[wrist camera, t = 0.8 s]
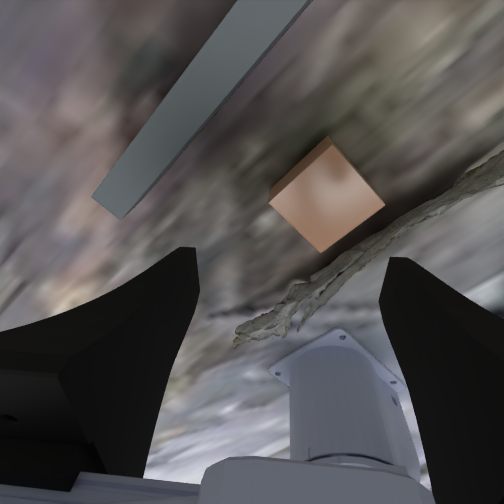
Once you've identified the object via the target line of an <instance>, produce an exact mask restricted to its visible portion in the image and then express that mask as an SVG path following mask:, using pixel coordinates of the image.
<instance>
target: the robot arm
mask: <svg viewBox="0 0 504 504" xmlns="http://www.w3.org/2000/svg"><path fill="white" fill-rule="evenodd" d="M199 293H200V286H199V276H198V267H197V258H196V248H193V247H179V248H177V249H176V250H174V251H173V252H171V253H170V254H168V255H167V256H165V257H164V258H163V259H161V260H160V261H158V262H157V263H156V264H154V265H153V266H151V267H150V268H148V269H147V270H145V271H144V272H142V273H141V274H139V275H138V276H136V277H134V278H133V279H131V280H130V281H128V282H126V283H125V284H123V285H121V286H120V287H118V288H116V289H114V290H112V291H110V292H108V293H106V294H104V295H102V296H100V297H98V298H96V299H94V300H92V301H90V302H87V303H85V304H82V305H80V306H78V307H75V308H73V309H71V310H68V311H66V312H63V313H60V314H58V315H55V316H52V317H49V318H46V319H43V320H40V321H37V322H34V323H31V324H27V325H24V326H21V327H17V328H13V329H10V330H6V331H2V332H0V504H504V319H502V318H500V317H499V316H497V315H495V314H493V313H491V312H490V311H488V310H486V309H484V308H483V307H481V306H479V305H478V304H476V303H475V302H473V301H471V300H470V299H468V298H467V297H465V296H463V295H462V294H460V293H459V292H457V291H456V290H454V289H453V288H451V287H450V286H448V285H447V284H446V283H444V282H443V281H441V280H440V279H438V278H437V277H436V276H434V275H433V274H431V273H430V272H429V271H427V270H426V269H424V268H423V267H421V266H420V265H419V264H417V263H416V262H414V261H412V260H411V259H409V258H406V257H390V258H389V262H388V266H387V270H386V274H385V278H384V282H383V286H382V290H381V293H380V297H379V306H380V310H381V315H382V319H383V323H384V326H385V329H386V332H387V335H388V337H389V340H390V342H391V345H392V348H393V350H394V353H395V355H396V358H397V360H398V363H399V365H400V368H401V371H402V373H403V376H404V378H405V381H406V384H407V387H408V390H409V394H410V397H411V401H412V405H413V409H414V412H415V416H416V420H417V424H418V428H419V432H420V437H421V441H422V445H423V449H424V454H425V458H426V463H427V468H428V473H429V477H430V482H431V487H432V492H433V494H432V492H431V491H429V490H428V489H427V488H425V487H424V486H423V485H421V484H420V483H419V482H420V463H419V459H418V456H417V453H416V450H415V446H414V443H413V440H412V437H411V434H410V431H409V428H408V425H407V422H406V419H405V416H404V413H403V410H402V407H401V404H400V401H399V398H398V395H397V393H400V392H402V391H404V390H405V389H406V386H405V384H404V383H403V382H402V381H401V380H400V379H399V378H398V377H397V376H396V375H395V374H393V373H392V372H391V371H390V370H389V369H388V368H387V367H386V366H385V365H383V364H382V363H381V362H380V361H379V360H378V359H377V358H376V357H375V356H374V355H372V354H371V353H370V352H369V351H368V350H367V349H366V348H365V347H364V346H362V345H361V344H360V343H359V342H358V341H357V340H356V339H355V338H354V337H353V336H351V335H350V334H349V333H348V332H347V331H346V330H345V329H344V328H342V327H335V328H333V329H331V330H330V331H328V332H326V333H325V334H323V335H321V336H319V337H318V338H316V339H314V340H313V341H311V342H309V343H308V344H306V345H304V346H302V347H301V348H299V349H297V350H296V351H294V352H292V353H291V354H289V355H287V356H285V357H284V358H282V359H280V360H279V361H277V362H275V363H274V364H272V365H270V366H269V368H268V371H269V373H271V374H272V375H273V376H275V377H276V378H277V379H279V380H280V381H281V382H283V383H284V384H285V385H287V386H288V387H289V388H290V460H289V459H279V458H269V457H259V456H243V457H228V458H226V459H224V460H222V461H219V462H217V463H215V464H213V465H211V466H210V467H208V468H207V469H206V470H205V473H204V476H203V478H202V481H201V485H199V484H189V483H180V482H171V481H162V480H153V479H144V478H143V475H144V471H145V467H146V462H147V458H148V454H149V450H150V446H151V441H152V437H153V433H154V429H155V425H156V422H157V418H158V414H159V411H160V407H161V403H162V400H163V396H164V392H165V389H166V386H167V382H168V379H169V375H170V372H171V369H172V366H173V364H174V361H175V358H176V356H177V354H178V351H179V349H180V346H181V344H182V342H183V339H184V337H185V334H186V332H187V330H188V327H189V325H190V322H191V320H192V317H193V315H194V312H195V309H196V305H197V301H198V297H199ZM341 335H345V337H340V336H341ZM276 372H280V373H276ZM391 381H394V382H391Z"/></svg>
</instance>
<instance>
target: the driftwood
mask: <svg viewBox="0 0 504 504" xmlns="http://www.w3.org/2000/svg"><path fill="white" fill-rule="evenodd" d="M501 185H504V150H503V151H501V152H500V153H499V154H497V155H496V156H494V157H491V158H490V159H489V160H488V161H487V162H485V163H484V164H482V165H481V166H479V167H476V168H474V169H472V170H470V171H468V172H467V173H465V174H464V175H463V176H462V177H460V178H459V180H458V181H457V182H456V183H455V184H454V186H453V187H452V188H451V189H449V190H447V191H446V192H445V193H444V194H442V195H440V196H438V197H435V198H433V199H431V200H429V201H427V202H425V203H423V204H422V205H420V206H418V207H416V208H414V209H412V210H410V211H409V212H408V213H406V214H404V215H402V216H400V217H398V218H397V219H396V220H395V221H393V222H392V223H391V224H390V225H388V226H387V227H386V228H385V229H383V230H381V231H379V232H377V233H375V234H373V235H371V236H370V237H368V238H366V239H364V240H363V241H361V242H360V243H359V244H357V245H355V246H353V247H352V248H351V249H349V250H346V251H345V252H343V253H342V254H340V255H339V256H338V257H337V259H335V260H334V261H333V262H331V264H330V265H329V266H326V267H325V268H323V269H322V270H320V271H318V272H316V273H314V274H313V275H311V276H310V282H308V283H300V284H294V285H293V287H292V288H291V289H290V291H289V294H288V295H287V296H286V297H285V298H284V299H283V301H282V302H281V303H278V304H277V305H276V306H275V308H274V309H273V310H272V311H270V312H269V313H265V314H261V315H260V316H259V317H256V318H254V319H253V320H249V321H247V322H245V323H244V324H242V325H239V326H238V327H237V328H236V330H235V334H236V335H238V334H239V336H238V337H237V336H236V338H235V339H234V340H233V341H234V348H236V346H239V345H241V344H244V343H246V342H250V340H257V341H260V340H263V339H266V338H268V337H269V336H270V335H272V334H275V336H279V335H281V337H282V338H284V337H286V335H287V330H288V328H289V327H290V326H291V325H292V321H291V318H292V316H293V315H294V314H295V313H296V312H297V311H298V309H299V307H300V306H301V305H302V304H303V303H304V302H305V301H306V300H307V299H309V298H311V297H312V295H315V296H316V298H315V300H314V301H313V302H312V304H311V305H310V306H309V307H308V308H307V309H306V311H305V313H304V316H303V317H302V320H301V321H300V323H299V325H298V329H297V332H299V330H300V329H301V327H302V326H303V324H304V323H305V322H306V321H307V320H308V319H309V317H310V316H312V315H313V314H314V312H315V311H316V309H317V307H320V306H323V305H325V304H326V303H327V301H328V300H329V299H330V298H331V297H332V296H333V295H335V294H336V292H337V291H338V290H339V289H340V287H341V286H342V285H343V284H344V283H345V282H346V281H347V280H348V279H349V278H350V277H351V276H352V275H353V274H354V273H356V272H358V271H360V270H362V269H364V268H365V265H366V264H367V263H369V262H370V261H371V260H372V259H373V258H375V257H376V256H377V255H378V254H379V253H380V252H382V251H383V250H385V248H386V247H387V246H388V245H389V244H390V243H391V242H392V241H394V240H395V239H397V238H399V237H400V235H401V234H402V233H403V232H404V231H405V229H407V228H408V227H411V226H413V225H414V224H416V223H417V224H418V223H421V222H423V221H425V220H427V219H429V218H431V217H434V216H436V215H439V216H440V215H441V214H443V213H444V212H445V211H447V210H448V209H449V208H451V207H452V206H454V205H455V204H456V203H458V202H459V201H461V200H463V199H465V198H468V197H471V196H473V195H474V194H476V193H478V192H481V191H484V190H486V189H489V188H492V187H495V186H501ZM280 320H283V321H282V323H280V324H279V325H277V326H276V327H274V328H273V329H268V328H267V327H269V326H270V325H271V324H272V323H273V322H275V323H274V325H276V321H280ZM266 328H267V329H266ZM264 329H266V330H264ZM233 336H234V335H233Z"/></svg>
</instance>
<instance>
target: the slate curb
mask: <svg viewBox="0 0 504 504" xmlns="http://www.w3.org/2000/svg"><path fill="white" fill-rule="evenodd" d="M312 1H313V0H237V2H236V3H235V4H234V6H233V7H232V8H231V10H230V11H229V12H228V14H227V15H226V16H225V18H224V19H223V20H222V22H221V23H220V24H219V26H218V27H217V28H216V30H215V31H214V32H213V34H212V35H211V36H210V38H209V39H208V40H207V42H206V43H205V44H204V46H203V47H202V48H201V50H200V51H199V52H198V54H197V55H196V57H195V58H194V59H193V61H192V62H191V63H190V65H189V66H188V67H187V69H186V70H185V71H184V73H183V74H182V75H181V77H180V78H179V79H178V81H177V82H176V83H175V85H174V86H173V87H172V89H171V90H170V91H169V93H168V94H167V95H166V97H165V98H164V99H163V101H162V102H161V103H160V105H159V106H158V107H157V109H156V110H155V111H154V113H153V114H152V115H151V117H150V118H149V120H148V121H147V122H146V124H145V125H144V126H143V128H142V129H141V130H140V132H139V133H138V134H137V136H136V137H135V138H134V140H133V141H132V142H131V144H130V145H129V146H128V148H127V149H126V150H125V152H124V153H123V154H122V156H121V157H120V158H119V160H118V161H117V162H116V164H115V165H114V166H113V168H112V169H111V170H110V172H109V173H108V174H107V176H106V177H105V178H104V180H103V181H102V183H101V184H100V185H99V187H98V188H97V189H96V191H95V192H94V193H93V195H92V196H91V197H92V198H93V199H94V200H96V201H97V202H98V203H99V204H101V205H102V206H103V207H104V208H106V209H107V210H108V211H109V212H111V213H112V214H113V215H114V216H116V217H117V218H118V219H119V220H122V219H123V218H124V217H125V216H126V215H127V214H128V213H129V212H130V211H131V210H132V209H133V208H134V207H135V206H136V205H137V204H138V203H139V202H140V201H141V200H142V199H143V198H144V197H145V196H146V195H147V193H148V192H149V191H150V190H151V189H152V188H153V186H154V185H155V184H156V183H157V182H158V181H159V179H160V178H161V177H162V176H163V175H164V173H165V172H166V171H167V170H168V169H169V168H170V166H171V165H172V164H173V163H174V162H175V161H176V159H177V158H178V157H179V156H180V155H181V154H182V152H183V151H184V150H185V149H186V148H187V147H188V145H189V144H190V143H191V142H192V141H193V140H194V138H195V137H196V136H197V135H198V134H199V133H200V131H201V130H202V129H203V128H204V127H205V126H206V124H207V123H208V122H209V121H210V120H211V119H212V117H213V116H214V115H215V114H216V113H217V112H218V110H219V109H220V108H221V107H222V106H223V105H224V103H225V102H226V101H227V100H228V99H229V98H230V96H231V95H232V94H233V93H234V92H235V91H236V89H237V88H238V87H239V86H240V85H241V84H242V82H243V81H244V80H245V79H246V78H247V77H248V75H249V74H250V73H251V72H252V71H253V70H254V68H255V67H256V66H257V65H258V64H259V63H260V61H261V60H262V59H263V58H264V57H265V56H266V54H267V53H268V52H269V51H270V50H271V48H272V47H273V46H274V45H275V44H276V43H277V41H278V40H279V39H280V38H281V37H282V36H283V34H284V33H285V32H286V31H287V30H288V29H289V27H290V26H291V25H292V24H293V23H294V22H295V20H296V19H297V18H298V17H299V16H300V15H301V13H302V12H303V11H304V10H305V9H306V8H307V6H308V5H309V4H310V3H311V2H312Z"/></svg>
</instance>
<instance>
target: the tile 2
mask: <svg viewBox="0 0 504 504" xmlns="http://www.w3.org/2000/svg"><path fill="white" fill-rule="evenodd" d="M268 203H269V204H270V205H271V206H272V207H273V208H274V209H275V210H276V211H277V212H278V213H280V214H281V215H282V216H283V217H284V218H285V219H286V220H287V221H288V222H289V223H290V224H291V225H292V226H293V227H294V228H295V229H296V230H297V231H298V232H299V233H300V234H301V235H302V236H303V237H304V238H306V239H307V240H308V241H309V242H310V243H311V244H312V245H313V246H314V247H315V248H316V249H317V250H318V251H319V252H320V253H322V252H323V251H325V250H326V249H327V248H329V247H330V246H331V245H333V244H334V243H335V242H337V241H338V240H339V239H341V238H342V237H343V236H345V235H346V234H347V233H349V232H350V231H351V230H353V229H354V228H355V227H357V226H358V225H359V224H361V223H362V222H363V221H365V220H366V219H367V218H369V217H370V216H372V215H373V214H374V213H376V212H377V211H378V210H380V209H381V208H382V207H384V206H385V203H384V202H383V200H382V199H381V197H380V196H379V194H378V193H377V192H376V190H375V189H374V188H373V187H372V186H371V184H370V183H369V182H368V181H367V180H366V179H365V178H364V176H363V175H362V174H361V173H360V172H359V171H358V170H357V168H356V167H355V166H354V165H353V164H352V163H351V162H350V160H349V159H348V158H347V157H346V156H345V155H344V154H343V152H342V151H341V150H340V149H339V148H338V147H337V146H336V144H335V143H334V142H333V141H332V140H331V139H330V138H329V136H327V137H325V138H324V139H323V140H322V141H321V142H320V143H319V144H318V145H317V146H316V147H315V148H314V149H313V150H312V151H310V152H309V153H308V154H307V155H306V156H305V157H304V158H303V159H302V160H301V161H300V162H299V163H298V164H297V165H295V166H294V167H293V168H292V169H291V170H290V171H289V172H288V173H287V174H286V175H285V176H284V177H283V178H282V179H281V180H279V181H278V182H277V183H276V184H275V185H274V186H273V187H272V188H271V189H270V195H269V202H268Z"/></svg>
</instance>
